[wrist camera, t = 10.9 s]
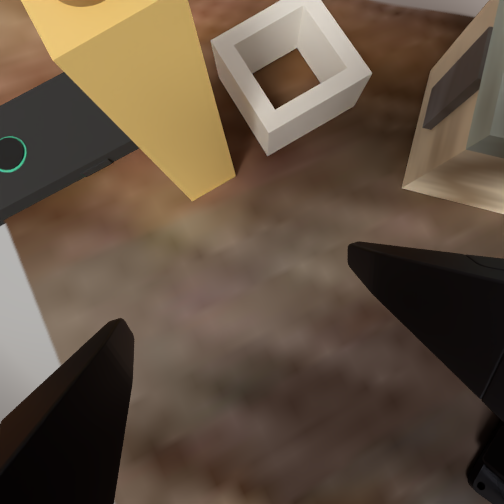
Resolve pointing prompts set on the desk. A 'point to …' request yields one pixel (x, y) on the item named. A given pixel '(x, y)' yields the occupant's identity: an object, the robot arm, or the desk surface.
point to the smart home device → (53, 143)
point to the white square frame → (277, 45)
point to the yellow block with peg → (143, 80)
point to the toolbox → (464, 119)
